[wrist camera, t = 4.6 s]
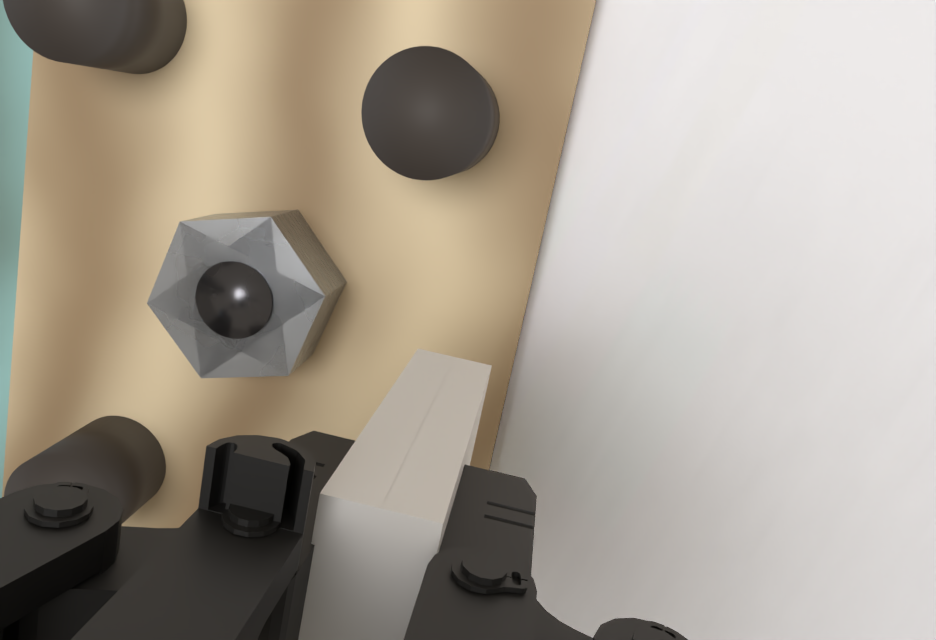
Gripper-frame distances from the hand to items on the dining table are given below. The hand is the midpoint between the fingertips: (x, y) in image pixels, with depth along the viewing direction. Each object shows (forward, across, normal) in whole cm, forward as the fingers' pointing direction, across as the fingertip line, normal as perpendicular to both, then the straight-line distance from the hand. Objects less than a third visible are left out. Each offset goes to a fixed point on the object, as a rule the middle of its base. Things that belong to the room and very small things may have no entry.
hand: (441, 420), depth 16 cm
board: (+9, -10, -2) cm, 14 cm away
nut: (+9, -7, 0) cm, 11 cm away
